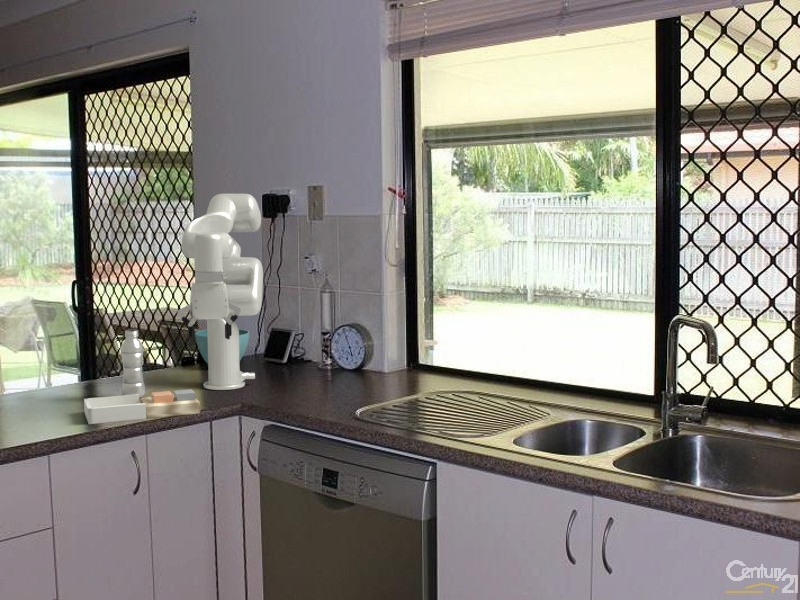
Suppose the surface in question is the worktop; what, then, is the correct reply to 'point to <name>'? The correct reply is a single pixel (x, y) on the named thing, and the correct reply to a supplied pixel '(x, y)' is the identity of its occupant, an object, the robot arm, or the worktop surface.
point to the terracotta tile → (162, 397)
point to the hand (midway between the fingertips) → (210, 339)
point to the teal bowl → (203, 343)
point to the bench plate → (170, 407)
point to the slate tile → (184, 395)
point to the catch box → (114, 409)
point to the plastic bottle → (132, 364)
